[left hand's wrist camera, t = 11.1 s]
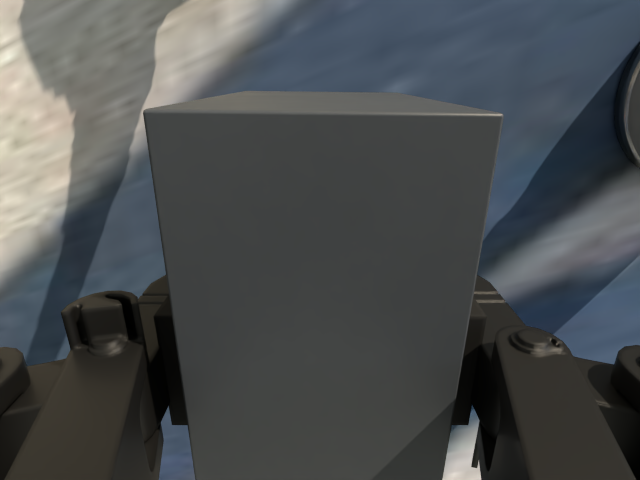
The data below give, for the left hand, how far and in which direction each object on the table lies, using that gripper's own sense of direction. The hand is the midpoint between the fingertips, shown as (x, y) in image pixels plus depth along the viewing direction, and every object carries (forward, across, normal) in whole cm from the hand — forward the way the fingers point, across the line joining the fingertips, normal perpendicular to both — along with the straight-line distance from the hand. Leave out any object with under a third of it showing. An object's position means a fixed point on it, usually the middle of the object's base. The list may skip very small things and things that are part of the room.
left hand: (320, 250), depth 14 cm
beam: (+1, 0, -24) cm, 24 cm away
